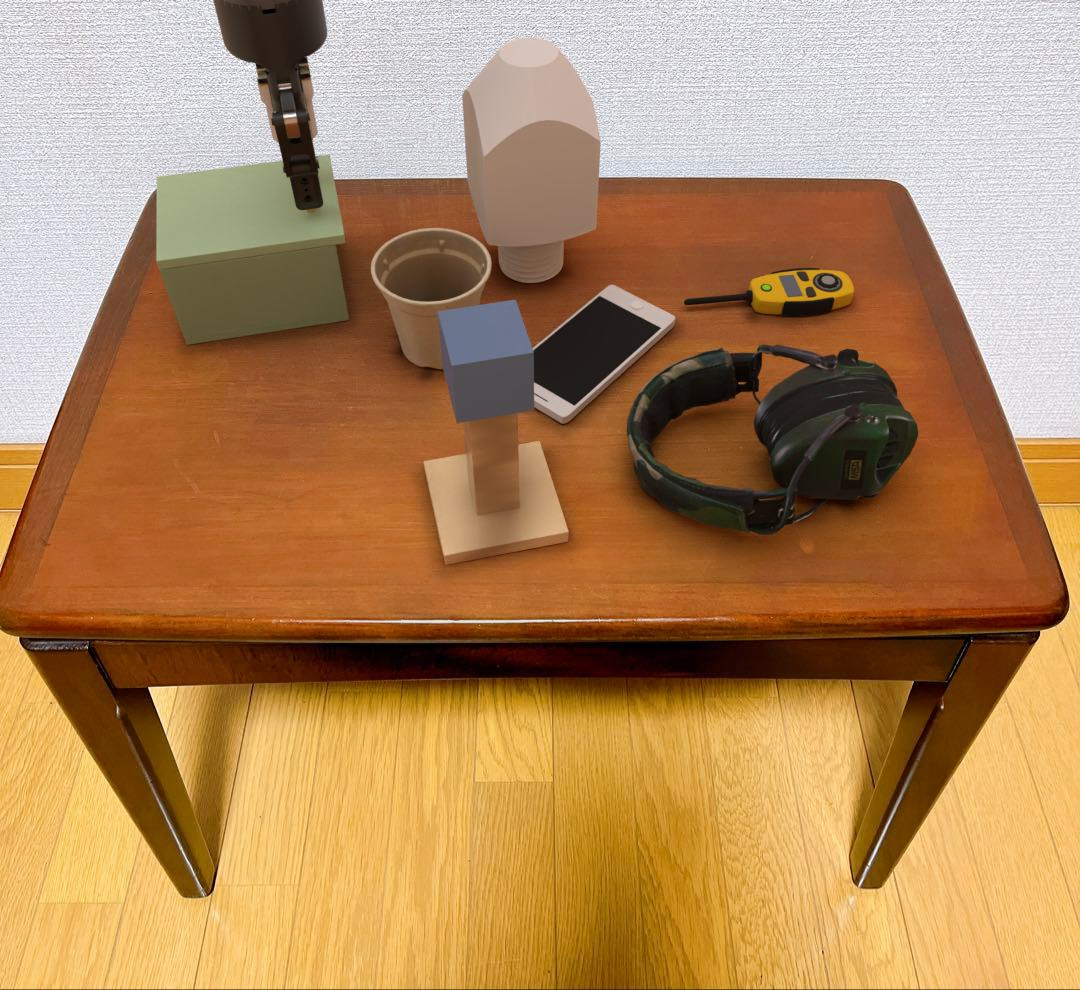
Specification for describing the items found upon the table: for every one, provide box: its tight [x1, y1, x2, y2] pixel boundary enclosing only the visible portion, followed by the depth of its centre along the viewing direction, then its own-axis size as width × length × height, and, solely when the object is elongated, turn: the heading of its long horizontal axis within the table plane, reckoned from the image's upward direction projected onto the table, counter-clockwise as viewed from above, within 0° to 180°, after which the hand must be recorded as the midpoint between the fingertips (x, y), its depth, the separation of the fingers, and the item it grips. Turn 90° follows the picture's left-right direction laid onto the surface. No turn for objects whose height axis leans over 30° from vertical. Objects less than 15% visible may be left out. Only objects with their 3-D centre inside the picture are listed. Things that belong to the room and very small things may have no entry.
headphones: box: [626, 343, 919, 536], centre depth 74 cm, size 13×13×20 cm
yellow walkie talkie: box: [683, 267, 855, 317], centre depth 89 cm, size 5×2×15 cm
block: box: [438, 299, 535, 424], centre depth 64 cm, size 5×5×5 cm
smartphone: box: [532, 284, 676, 424], centre depth 85 cm, size 7×16×1 cm, turn 140°
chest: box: [159, 244, 350, 346], centre depth 87 cm, size 14×12×8 cm
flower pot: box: [370, 227, 492, 370], centre depth 82 cm, size 9×9×9 cm
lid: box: [155, 154, 347, 270], centre depth 82 cm, size 15×12×5 cm
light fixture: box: [461, 37, 602, 284], centre depth 85 cm, size 9×9×20 cm
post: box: [423, 413, 570, 566], centre depth 70 cm, size 9×9×12 cm
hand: (307, 186), depth 84 cm, fingers closed on lid, 5 cm apart
